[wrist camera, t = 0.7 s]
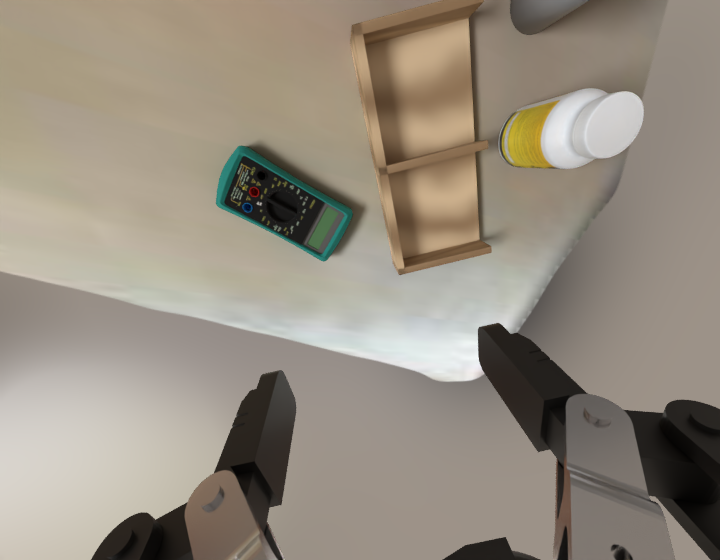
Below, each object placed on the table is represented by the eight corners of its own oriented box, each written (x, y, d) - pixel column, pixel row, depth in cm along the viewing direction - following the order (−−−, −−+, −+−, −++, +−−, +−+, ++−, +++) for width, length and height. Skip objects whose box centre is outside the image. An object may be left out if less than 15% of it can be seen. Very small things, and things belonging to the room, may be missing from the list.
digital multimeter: (240, 141, 30) (231, 140, 28) (354, 209, 34) (356, 214, 32) (218, 200, 33) (207, 203, 30) (327, 257, 37) (326, 265, 34)
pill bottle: (494, 171, 33) (567, 177, 23) (496, 111, 31) (580, 85, 20) (546, 161, 33) (644, 162, 23) (553, 100, 31) (667, 68, 20)
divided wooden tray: (350, 43, 27) (351, 25, 24) (463, 12, 27) (483, -11, 23) (393, 263, 37) (399, 275, 34) (476, 243, 37) (491, 252, 33)
